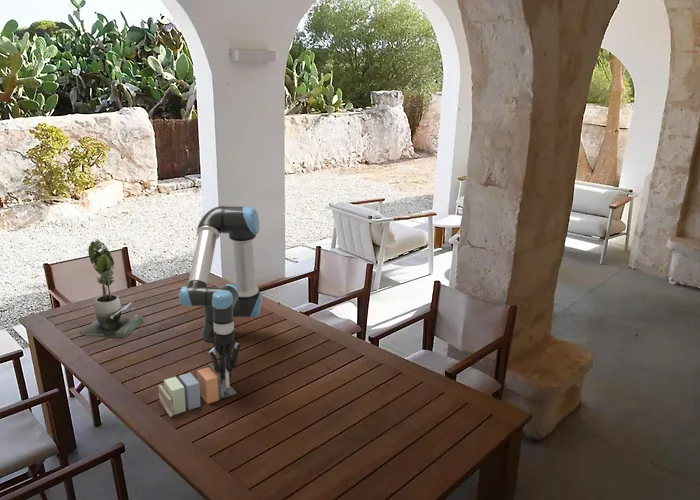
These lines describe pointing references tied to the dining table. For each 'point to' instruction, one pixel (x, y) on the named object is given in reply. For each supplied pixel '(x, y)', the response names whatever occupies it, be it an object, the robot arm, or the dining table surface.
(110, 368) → the dining table surface
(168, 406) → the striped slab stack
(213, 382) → the book rust
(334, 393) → the dining table surface
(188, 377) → the book slate
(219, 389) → the bookend
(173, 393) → the book sage
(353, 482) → the dining table surface
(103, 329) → the potted plant
